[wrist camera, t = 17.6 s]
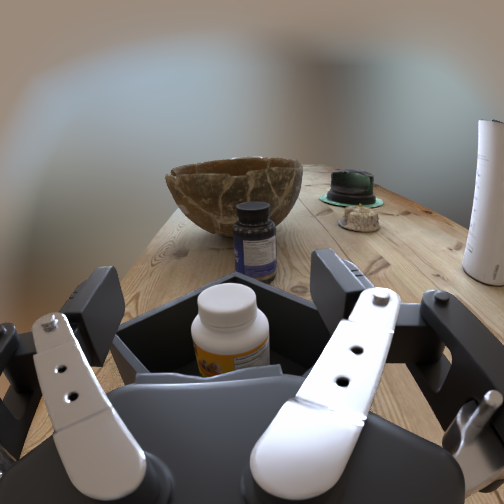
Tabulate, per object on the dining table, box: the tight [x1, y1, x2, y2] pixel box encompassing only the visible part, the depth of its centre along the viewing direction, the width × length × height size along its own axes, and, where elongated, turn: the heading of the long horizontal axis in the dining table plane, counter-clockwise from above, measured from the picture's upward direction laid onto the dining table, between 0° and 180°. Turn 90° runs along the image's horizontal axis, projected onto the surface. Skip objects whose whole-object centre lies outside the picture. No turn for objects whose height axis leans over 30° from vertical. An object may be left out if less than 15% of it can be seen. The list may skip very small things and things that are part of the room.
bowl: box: [165, 157, 303, 237], centre depth 62 cm, size 28×27×15 cm
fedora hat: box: [320, 170, 383, 208], centre depth 89 cm, size 15×19×20 cm
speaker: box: [462, 120, 504, 286], centre depth 36 cm, size 11×10×26 cm
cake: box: [338, 203, 380, 232], centre depth 66 cm, size 10×10×5 cm
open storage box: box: [110, 271, 332, 385], centre depth 23 cm, size 15×15×8 cm
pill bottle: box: [233, 201, 277, 284], centre depth 44 cm, size 6×6×11 cm
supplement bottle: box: [191, 283, 270, 378], centre depth 22 cm, size 6×6×10 cm
